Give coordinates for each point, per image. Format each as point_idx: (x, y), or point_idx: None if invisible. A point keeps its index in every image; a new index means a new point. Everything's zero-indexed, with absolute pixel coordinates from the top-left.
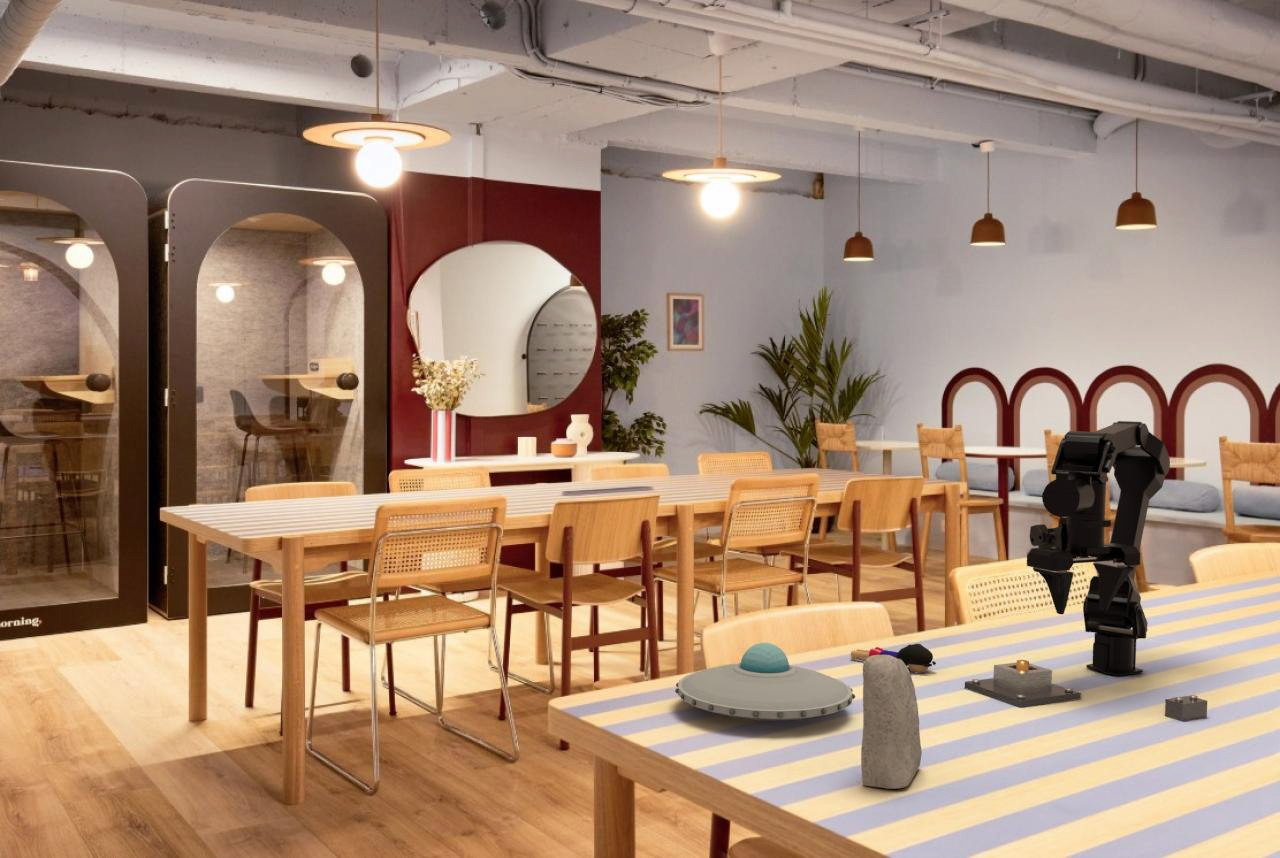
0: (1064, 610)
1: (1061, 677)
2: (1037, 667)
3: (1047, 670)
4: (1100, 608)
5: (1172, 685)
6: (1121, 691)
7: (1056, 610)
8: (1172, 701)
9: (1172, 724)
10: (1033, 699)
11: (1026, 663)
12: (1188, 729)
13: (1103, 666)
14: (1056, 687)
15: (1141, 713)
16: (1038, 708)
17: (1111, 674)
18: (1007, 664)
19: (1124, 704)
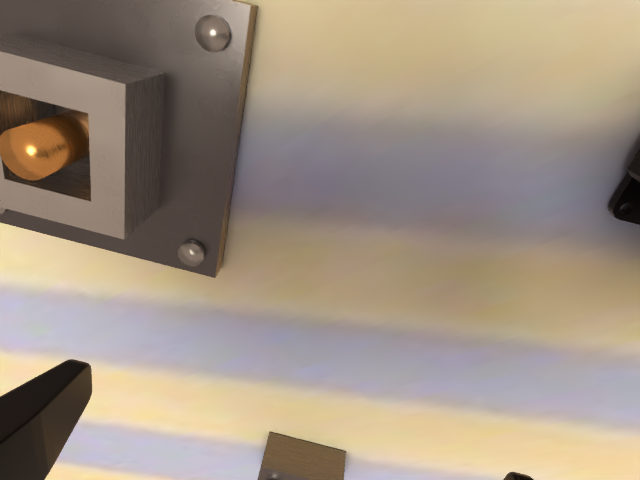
0: (69, 427)
1: (442, 76)
2: (104, 182)
3: (106, 230)
4: (513, 474)
5: (610, 358)
6: (410, 298)
7: (50, 373)
8: (258, 477)
9: (224, 454)
10: (28, 228)
11: (25, 177)
12: (220, 477)
13: (635, 171)
14: (197, 204)
15: (242, 399)
16: (39, 240)
17: (614, 194)
18: (15, 71)
19: (280, 352)
